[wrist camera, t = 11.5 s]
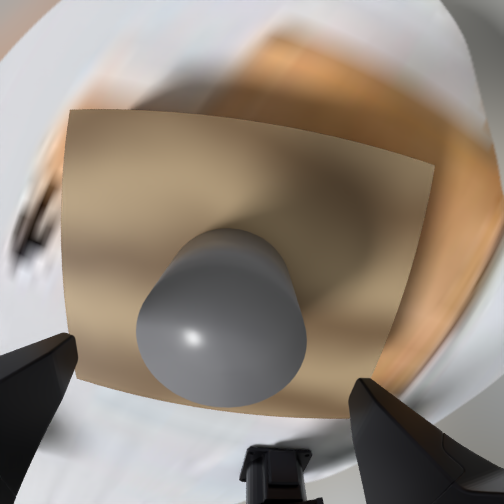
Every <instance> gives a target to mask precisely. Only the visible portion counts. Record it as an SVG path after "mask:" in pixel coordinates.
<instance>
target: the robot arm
mask: <svg viewBox="0 0 504 504" xmlns="http://www.w3.org/2000/svg"><path fill="white" fill-rule="evenodd" d="M77 362H78V351H77V345H76V339H75V337H74V336H73V335H71V334H68V333H60V334H58V335H55V336H52V337H49V338H47V339H44V340H41V341H39V342H36V343H33V344H31V345H28V346H25V347H23V348H20V349H17V350H14V351H12V352H9V353H6V354H4V355H1V356H0V504H14V501H15V499H16V496H17V494H18V491H19V489H20V486H21V484H22V482H23V479H24V477H25V475H26V473H27V470H28V468H29V466H30V464H31V461H32V459H33V457H34V455H35V453H36V451H37V449H38V446H39V444H40V442H41V440H42V438H43V436H44V434H45V432H46V430H47V428H48V426H49V424H50V422H51V420H52V418H53V416H54V414H55V412H56V411H57V409H58V407H59V405H60V403H61V401H62V399H63V397H64V394H65V392H66V389H67V387H68V384H69V382H70V379H71V377H72V375H73V372H74V370H75V367H76V365H77ZM348 405H349V413H350V421H351V430H352V438H353V444H354V449H355V453H356V458H357V462H358V466H359V471H360V475H361V480H362V484H363V489H364V494H365V498H366V503H367V504H504V469H503V468H501V467H498V466H497V465H495V464H493V463H491V462H489V461H487V460H486V459H484V458H482V457H481V456H479V455H477V454H475V453H474V452H472V451H470V450H469V449H467V448H466V447H464V446H462V445H461V444H459V443H458V442H456V441H455V440H453V439H452V438H450V437H449V436H448V435H446V434H445V433H442V431H441V430H439V429H438V428H437V427H435V426H434V425H433V424H431V423H430V422H428V421H427V420H426V419H424V418H423V417H422V416H420V415H419V414H418V413H416V412H415V411H413V410H412V409H411V408H409V407H408V406H407V405H405V404H404V403H403V402H401V401H400V400H399V399H397V398H396V397H395V396H393V395H392V394H391V393H389V392H388V391H387V390H385V389H384V388H383V387H381V386H380V385H379V384H377V383H376V382H375V381H373V380H372V379H371V378H358V379H357V380H356V382H355V384H354V386H353V389H352V391H351V393H350V396H349V399H348ZM311 456H312V452H311V451H310V450H289V449H268V448H254V447H250V448H248V449H247V451H246V455H245V458H244V462H243V466H242V469H241V473H240V477H239V480H240V481H242V482H246V504H324V503H323V499H322V497H321V498H317V499H314V500H308V501H307V497H306V490H305V483H304V476H303V472H304V470H305V468H306V466H307V464H308V462H309V460H310V458H311Z"/></svg>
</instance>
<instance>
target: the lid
mask: <svg viewBox="0 0 504 504" xmlns="http://www.w3.org/2000/svg"><path fill="white" fill-rule="evenodd" d="M434 169H435V165H433V164H430V163H427V162H424V161H421V160H418V159H414V158H411V157H408V156H405V155H402V154H398V153H395V152H392V151H388V150H385V149H381V148H377V147H374V146H370V145H366V144H363V143H359V142H355V141H351V140H347V139H343V138H338V137H334V136H330V135H325V134H321V133H316V132H311V131H306V130H301V129H296V128H291V127H286V126H280V125H274V124H268V123H262V122H256V121H249V120H242V119H235V118H227V117H219V116H210V115H201V114H191V113H179V112H165V111H148V110H119V109H82V110H70V113H69V120H68V127H67V135H66V144H65V153H64V165H63V179H62V200H61V251H62V272H63V286H64V297H65V307H66V316H67V324H68V331H69V334H71V335H73V336H74V337H75V339H76V345H77V351H78V362H77V365H76V367H75V372H76V377H77V379H80V380H84V381H87V382H90V383H94V384H97V385H100V386H104V387H108V388H111V389H115V390H119V391H123V392H126V393H130V394H135V395H139V396H143V397H148V398H152V399H157V400H161V401H166V402H171V403H177V404H182V405H188V406H193V407H200V408H206V409H213V410H220V411H227V412H235V413H244V414H254V415H265V416H278V417H294V418H323V419H350V413H349V405H348V399H349V396H350V393H351V391H352V389H353V386H354V384H355V382H356V380H357V379H358V378H371V376H372V374H373V372H374V370H375V367H376V365H377V362H378V360H379V358H380V355H381V353H382V350H383V348H384V345H385V343H386V340H387V338H388V335H389V333H390V330H391V327H392V325H393V322H394V319H395V316H396V313H397V311H398V308H399V305H400V302H401V299H402V296H403V293H404V290H405V287H406V284H407V280H408V277H409V274H410V271H411V267H412V264H413V260H414V257H415V253H416V250H417V246H418V242H419V238H420V234H421V230H422V226H423V222H424V218H425V214H426V209H427V205H428V200H429V195H430V190H431V185H432V180H433V174H434ZM226 228H231V229H239V230H244V231H248V232H250V233H253V234H255V235H257V236H259V237H261V238H263V239H264V240H266V241H267V242H268V243H270V244H271V245H272V246H273V247H274V248H275V249H276V250H277V251H278V253H279V254H280V255H281V257H282V258H283V260H284V262H285V264H286V266H287V269H288V272H289V275H290V278H291V281H292V284H293V288H294V291H295V294H296V297H297V301H298V304H299V307H300V310H301V314H302V317H303V320H304V324H305V328H306V334H307V348H306V353H305V357H304V360H303V363H302V365H301V367H300V369H299V371H298V372H297V374H296V376H295V377H294V378H293V379H292V380H291V382H290V383H289V384H288V385H287V386H286V387H284V388H283V389H282V390H281V391H279V392H278V393H276V394H275V395H273V396H271V397H269V398H268V399H265V400H263V401H261V402H258V403H254V404H251V405H247V406H241V407H231V408H225V407H212V406H207V405H202V404H198V403H195V402H192V401H190V400H187V399H185V398H182V397H181V396H179V395H177V394H175V393H173V392H172V391H171V390H169V389H168V388H166V387H165V386H164V385H163V384H162V383H160V382H159V381H158V380H157V379H156V378H155V377H154V375H153V374H152V373H151V372H150V370H149V369H148V368H147V366H146V364H145V362H144V361H143V359H142V356H141V354H140V351H139V348H138V344H137V338H136V324H137V318H138V314H139V311H140V309H141V307H142V304H143V303H144V301H145V299H146V298H147V296H148V295H149V293H150V292H151V290H152V289H153V287H154V286H155V284H156V283H157V282H158V280H159V279H160V277H161V276H162V274H163V273H164V272H165V270H166V269H167V267H168V266H169V264H170V263H171V262H172V260H173V259H174V257H175V256H176V255H177V253H178V252H179V251H180V249H181V248H182V247H183V246H184V245H185V244H186V243H188V242H189V241H190V240H191V239H193V238H195V237H196V236H198V235H200V234H202V233H205V232H208V231H211V230H216V229H226Z"/></svg>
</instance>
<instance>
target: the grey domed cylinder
mask: <svg viewBox="0 0 504 504" xmlns="http://www.w3.org/2000/svg"><path fill="white" fill-rule="evenodd" d="M136 338H137V344H138V348H139V351H140V354H141V356H142V359H143V361H144V362H145V364H146V366H147V368H148V369H149V370H150V372H151V373H152V374H153V375H154V377H155V378H156V379H157V380H158V381H159V382H160V383H162V384H163V385H164V386H165V387H166V388H168V389H169V390H171V391H172V392H173V393H175V394H177V395H179V396H181V397H182V398H185V399H187V400H190V401H192V402H195V403H198V404H202V405H207V406H212V407H225V408H231V407H241V406H247V405H251V404H254V403H258V402H261V401H263V400H265V399H268V398H269V397H271V396H273V395H275V394H276V393H278V392H279V391H281V390H282V389H283V388H284V387H286V386H287V385H288V384H289V383H290V382H291V380H292V379H293V378H294V377H295V376H296V374H297V372H298V371H299V369H300V367H301V365H302V363H303V360H304V357H305V353H306V348H307V334H306V328H305V324H304V320H303V317H302V314H301V310H300V307H299V304H298V301H297V297H296V294H295V291H294V288H293V284H292V281H291V278H290V275H289V272H288V269H287V266H286V264H285V262H284V260H283V258H282V257H281V255H280V254H279V253H278V251H277V250H276V249H275V248H274V247H273V246H272V245H271V244H270V243H268V242H267V241H266V240H264V239H263V238H261V237H259V236H257V235H255V234H253V233H250V232H248V231H244V230H239V229H231V228H226V229H216V230H211V231H208V232H205V233H202V234H200V235H198V236H196V237H195V238H193V239H191V240H190V241H189V242H188V243H186V244H185V245H184V246H183V247H182V248H181V249H180V251H179V252H178V253H177V255H176V256H175V257H174V259H173V260H172V262H171V263H170V264H169V266H168V267H167V269H166V270H165V272H164V273H163V274H162V276H161V277H160V279H159V280H158V282H157V283H156V284H155V286H154V287H153V289H152V290H151V292H150V293H149V295H148V296H147V298H146V299H145V301H144V303H143V304H142V307H141V309H140V311H139V314H138V318H137V324H136Z"/></svg>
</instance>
